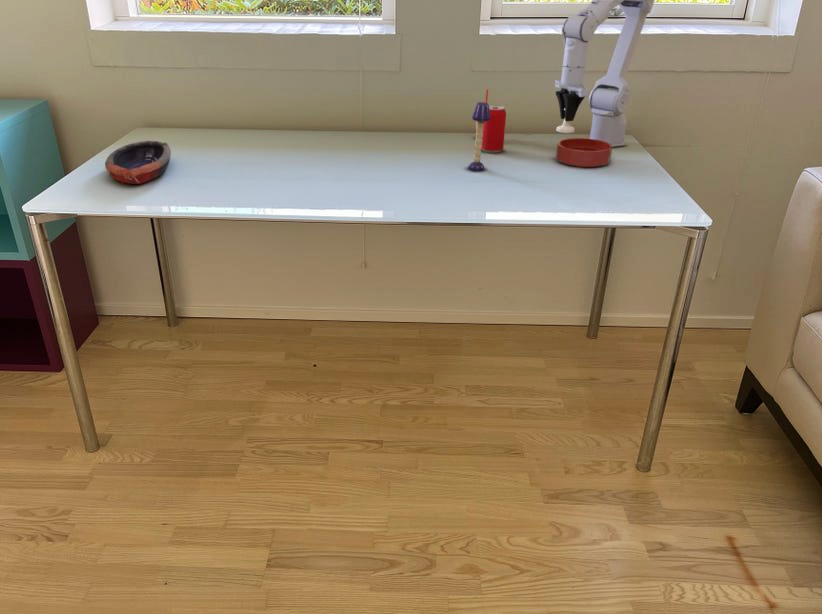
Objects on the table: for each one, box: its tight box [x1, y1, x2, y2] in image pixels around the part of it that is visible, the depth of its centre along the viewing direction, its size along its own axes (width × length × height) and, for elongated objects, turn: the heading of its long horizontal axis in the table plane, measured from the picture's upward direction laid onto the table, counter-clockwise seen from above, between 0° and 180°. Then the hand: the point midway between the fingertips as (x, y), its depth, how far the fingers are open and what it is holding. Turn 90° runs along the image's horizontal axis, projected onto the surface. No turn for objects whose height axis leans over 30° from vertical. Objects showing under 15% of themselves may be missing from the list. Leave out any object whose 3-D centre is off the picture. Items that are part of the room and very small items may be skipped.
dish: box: [104, 140, 172, 185], centre depth 186 cm, size 16×31×5 cm, turn 4°
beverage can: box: [481, 104, 507, 154], centre depth 203 cm, size 6×6×12 cm
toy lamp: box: [467, 101, 490, 172], centre depth 186 cm, size 5×5×17 cm
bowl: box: [555, 137, 613, 168], centre depth 196 cm, size 14×14×4 cm
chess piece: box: [555, 92, 575, 134], centre depth 195 cm, size 5×5×10 cm
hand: (566, 119), depth 196 cm, fingers closed on chess piece
